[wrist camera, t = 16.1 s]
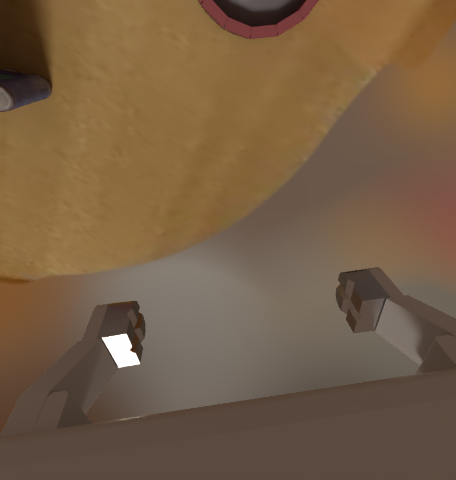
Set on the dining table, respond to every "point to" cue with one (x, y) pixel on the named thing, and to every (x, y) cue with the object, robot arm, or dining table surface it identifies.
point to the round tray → (257, 15)
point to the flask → (21, 89)
